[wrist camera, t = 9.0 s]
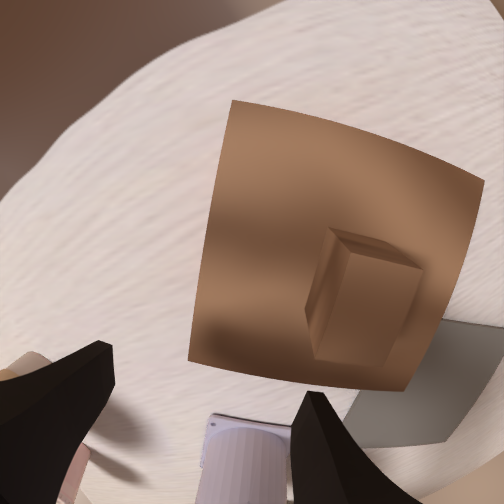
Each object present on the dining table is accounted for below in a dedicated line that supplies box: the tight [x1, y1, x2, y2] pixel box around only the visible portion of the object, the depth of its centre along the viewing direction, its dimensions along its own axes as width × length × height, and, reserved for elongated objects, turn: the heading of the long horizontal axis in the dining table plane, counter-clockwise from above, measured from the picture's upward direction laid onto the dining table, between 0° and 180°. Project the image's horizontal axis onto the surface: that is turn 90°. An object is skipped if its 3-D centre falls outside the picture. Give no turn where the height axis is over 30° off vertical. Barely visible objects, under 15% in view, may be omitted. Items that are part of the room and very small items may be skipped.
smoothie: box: [56, 442, 91, 504], centre depth 20 cm, size 6×6×14 cm
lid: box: [188, 100, 485, 392], centre depth 12 cm, size 13×13×5 cm
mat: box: [342, 319, 504, 448], centre depth 21 cm, size 15×15×1 cm
